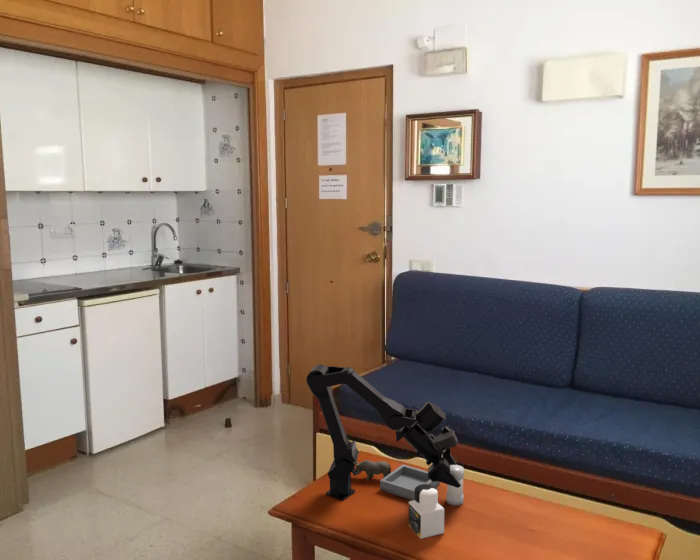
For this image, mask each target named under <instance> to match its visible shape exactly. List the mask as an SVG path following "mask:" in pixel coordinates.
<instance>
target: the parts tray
mask: <svg viewBox="0 0 700 560" xmlns="http://www.w3.org/2000/svg"><path fill="white" fill-rule="evenodd" d="M383 477H384V476H383ZM379 482H380V483H379V490H380V491H384V492H386V493H389V494H391V495H395V496H398V497H402V498H404V499H407V500H410V501H413V500H415V488H416V487H417V486H418V485H421V484H429V485H433V486H435V487H436V488H437V487H438V486H439V485H440V483H441V482H438V481H437V482H435V481H434V482H432V481H431V480H430V479H429V478H428V470H427V471H426V470H423V469H420V468H417V467H412V466H410V465H407V464H401V465H400V466H399V467H397V468H396V469H394V470H393V471H391V473H390V474H389V475H387V476H386V477H384V478H381V479H380V480H379Z"/></svg>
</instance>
